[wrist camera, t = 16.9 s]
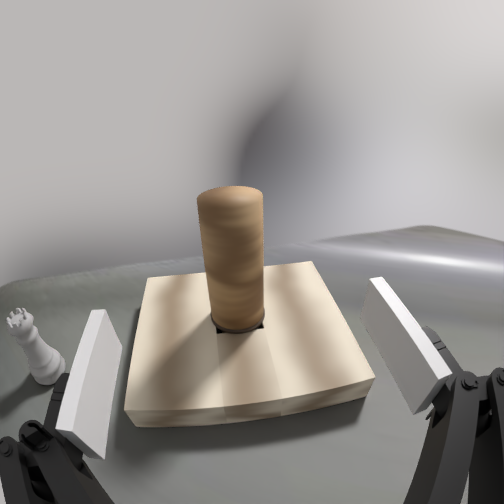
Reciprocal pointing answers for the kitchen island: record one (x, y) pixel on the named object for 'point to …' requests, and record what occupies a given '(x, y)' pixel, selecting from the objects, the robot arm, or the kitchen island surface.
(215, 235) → the oak leg
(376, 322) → the robot arm
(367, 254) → the kitchen island surface
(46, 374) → the rook chess piece
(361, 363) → the birch board
